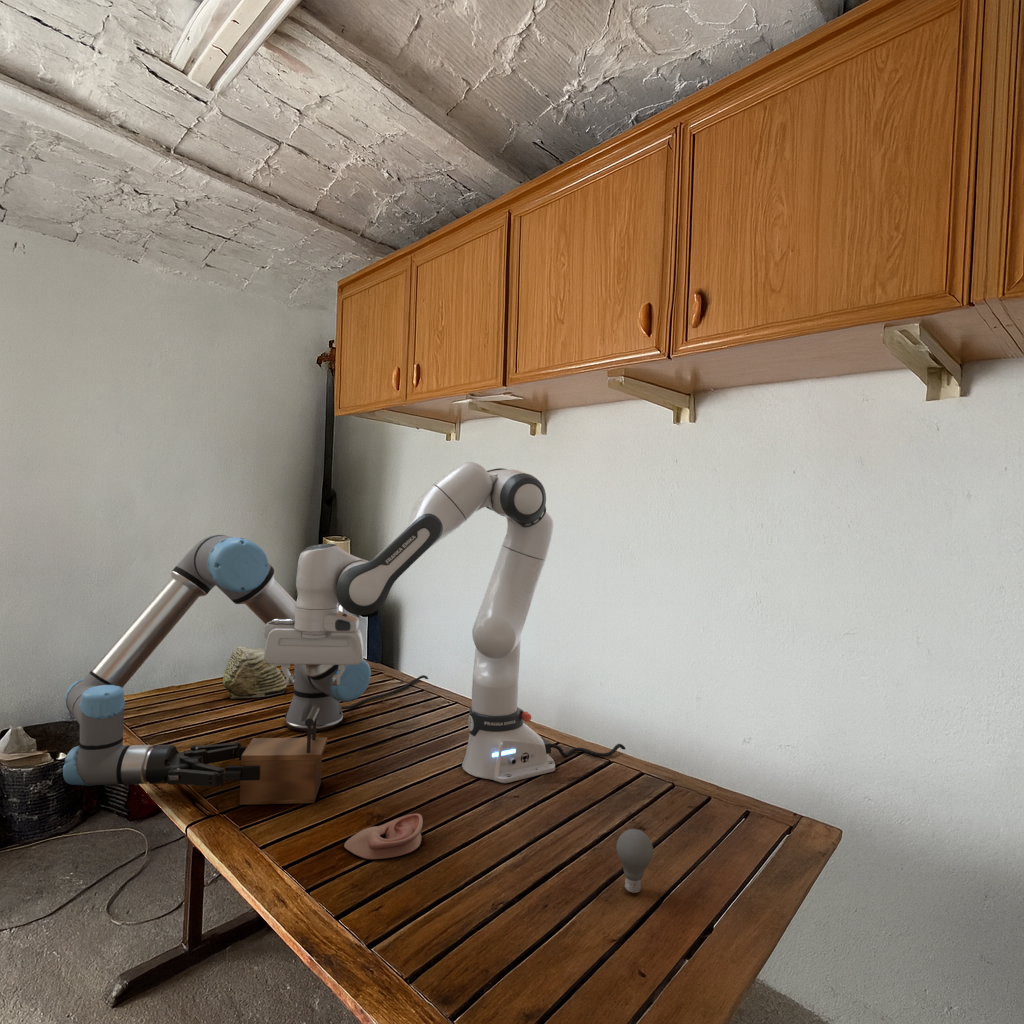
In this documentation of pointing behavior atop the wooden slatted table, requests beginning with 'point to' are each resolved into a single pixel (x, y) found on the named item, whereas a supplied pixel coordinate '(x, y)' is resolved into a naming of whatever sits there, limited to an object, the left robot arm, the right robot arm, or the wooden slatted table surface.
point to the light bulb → (634, 857)
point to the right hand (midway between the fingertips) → (313, 684)
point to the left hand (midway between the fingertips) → (265, 762)
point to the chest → (282, 782)
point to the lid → (288, 745)
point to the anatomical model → (387, 838)
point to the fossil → (252, 675)
